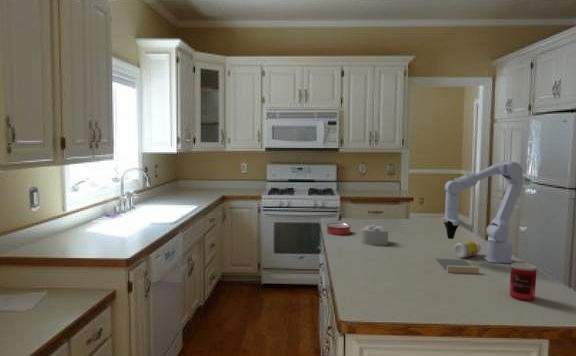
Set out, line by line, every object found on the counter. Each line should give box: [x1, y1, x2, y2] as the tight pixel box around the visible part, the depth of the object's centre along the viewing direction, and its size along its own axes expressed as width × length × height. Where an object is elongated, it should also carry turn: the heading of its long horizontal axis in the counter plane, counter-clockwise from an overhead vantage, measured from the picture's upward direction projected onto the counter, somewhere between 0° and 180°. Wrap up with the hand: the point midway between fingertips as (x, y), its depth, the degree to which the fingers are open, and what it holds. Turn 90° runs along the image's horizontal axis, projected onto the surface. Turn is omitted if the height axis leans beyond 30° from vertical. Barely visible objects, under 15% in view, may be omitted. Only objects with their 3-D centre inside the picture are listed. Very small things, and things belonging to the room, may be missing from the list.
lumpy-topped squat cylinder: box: [360, 224, 389, 246], centre depth 230 cm, size 10×13×9 cm
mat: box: [436, 258, 480, 274], centre depth 189 cm, size 12×19×2 cm, turn 175°
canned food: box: [509, 262, 538, 302], centre depth 153 cm, size 8×8×11 cm
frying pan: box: [326, 214, 351, 236], centre depth 262 cm, size 32×13×6 cm, turn 177°
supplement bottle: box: [453, 240, 482, 259], centre depth 206 cm, size 7×7×13 cm
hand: (450, 238), depth 199 cm, fingers closed
